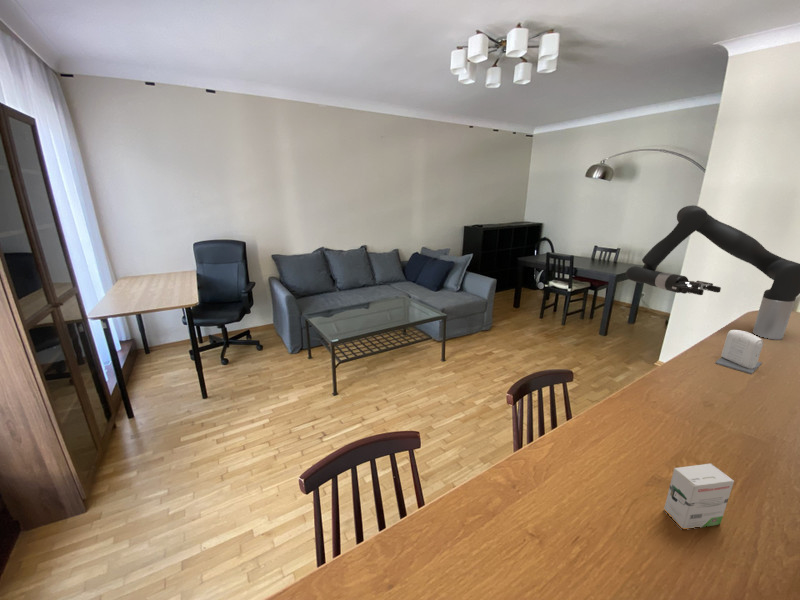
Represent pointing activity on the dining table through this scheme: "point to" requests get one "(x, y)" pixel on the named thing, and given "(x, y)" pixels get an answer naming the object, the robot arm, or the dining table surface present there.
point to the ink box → (698, 495)
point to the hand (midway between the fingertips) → (711, 291)
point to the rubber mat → (736, 365)
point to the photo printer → (742, 348)
